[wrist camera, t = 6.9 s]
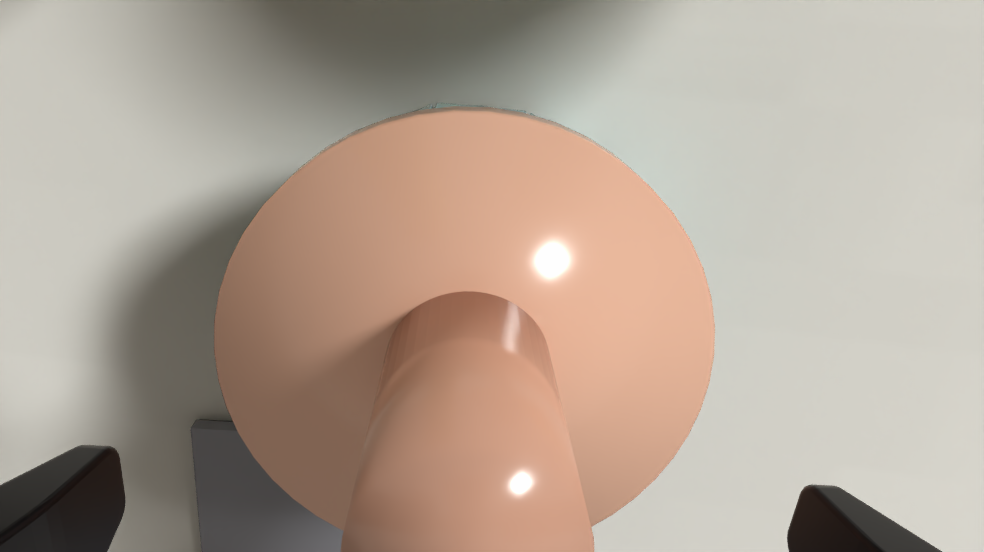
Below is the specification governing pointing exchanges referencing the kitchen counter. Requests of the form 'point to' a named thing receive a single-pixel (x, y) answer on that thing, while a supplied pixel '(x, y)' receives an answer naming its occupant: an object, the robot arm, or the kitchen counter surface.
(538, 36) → the kitchen counter surface
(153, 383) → the kitchen counter surface
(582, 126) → the kitchen counter surface
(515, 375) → the lid
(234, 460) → the mat
